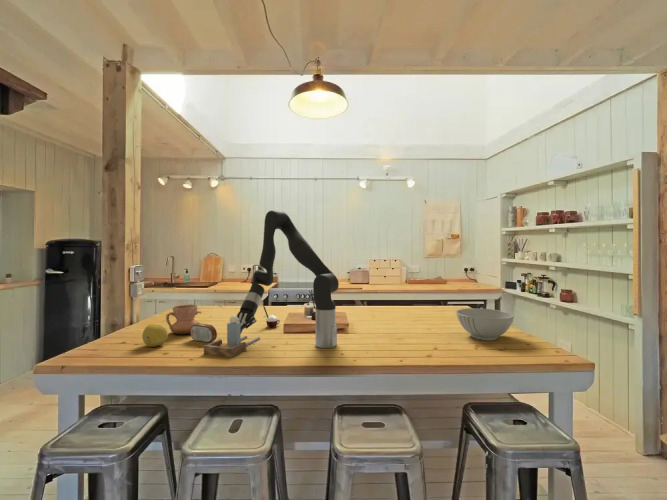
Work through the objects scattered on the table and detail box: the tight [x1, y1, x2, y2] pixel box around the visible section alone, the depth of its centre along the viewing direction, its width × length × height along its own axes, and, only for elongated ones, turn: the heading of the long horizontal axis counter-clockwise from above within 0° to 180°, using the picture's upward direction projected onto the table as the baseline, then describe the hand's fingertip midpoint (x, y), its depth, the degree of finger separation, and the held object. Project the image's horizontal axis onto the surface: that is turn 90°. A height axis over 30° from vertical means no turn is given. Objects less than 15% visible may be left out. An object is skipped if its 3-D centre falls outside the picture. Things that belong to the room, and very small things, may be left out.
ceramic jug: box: [165, 303, 203, 335], centre depth 185 cm, size 18×14×14 cm
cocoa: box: [262, 305, 281, 328], centre depth 198 cm, size 10×6×12 cm, turn 98°
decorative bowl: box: [455, 307, 515, 341], centre depth 178 cm, size 27×27×12 cm
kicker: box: [226, 315, 242, 348], centre depth 159 cm, size 5×4×14 cm
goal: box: [203, 339, 247, 358], centre depth 153 cm, size 14×10×4 cm
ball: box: [220, 342, 229, 347], centre depth 152 cm, size 4×4×4 cm
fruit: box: [141, 323, 169, 348], centre depth 162 cm, size 10×11×10 cm
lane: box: [241, 335, 261, 347], centre depth 166 cm, size 8×17×1 cm, turn 161°
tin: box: [190, 322, 218, 344], centre depth 169 cm, size 15×3×8 cm, turn 65°
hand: (236, 334), depth 161 cm, fingers closed
